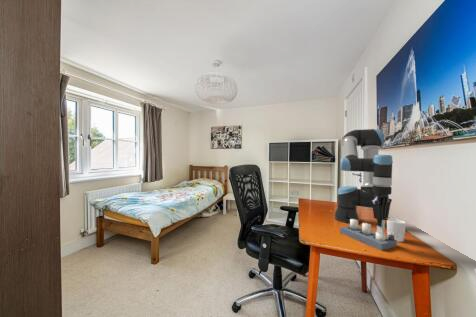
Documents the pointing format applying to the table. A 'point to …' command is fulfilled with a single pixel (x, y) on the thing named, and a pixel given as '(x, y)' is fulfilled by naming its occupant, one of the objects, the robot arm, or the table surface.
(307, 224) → the table surface
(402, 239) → the white cup
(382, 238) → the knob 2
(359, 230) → the grey egg holder
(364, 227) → the white oval solid
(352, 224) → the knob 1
